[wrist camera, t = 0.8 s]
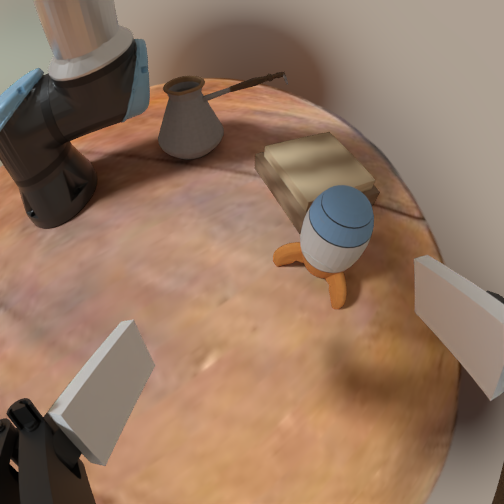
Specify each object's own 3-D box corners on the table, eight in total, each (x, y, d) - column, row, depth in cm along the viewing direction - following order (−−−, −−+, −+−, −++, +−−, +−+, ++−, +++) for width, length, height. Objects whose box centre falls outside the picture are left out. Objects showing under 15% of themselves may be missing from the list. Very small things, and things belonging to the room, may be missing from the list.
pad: (254, 168, 44) (255, 144, 40) (324, 149, 48) (330, 127, 43) (299, 233, 38) (305, 210, 34) (373, 204, 41) (384, 183, 37)
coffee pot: (153, 167, 44) (132, 92, 32) (170, 129, 50) (157, 62, 37) (281, 170, 44) (291, 88, 32) (279, 130, 50) (286, 60, 37)
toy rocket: (330, 233, 39) (390, 170, 26) (356, 304, 36) (435, 265, 23) (264, 245, 36) (308, 172, 23) (288, 325, 33) (356, 293, 19)
